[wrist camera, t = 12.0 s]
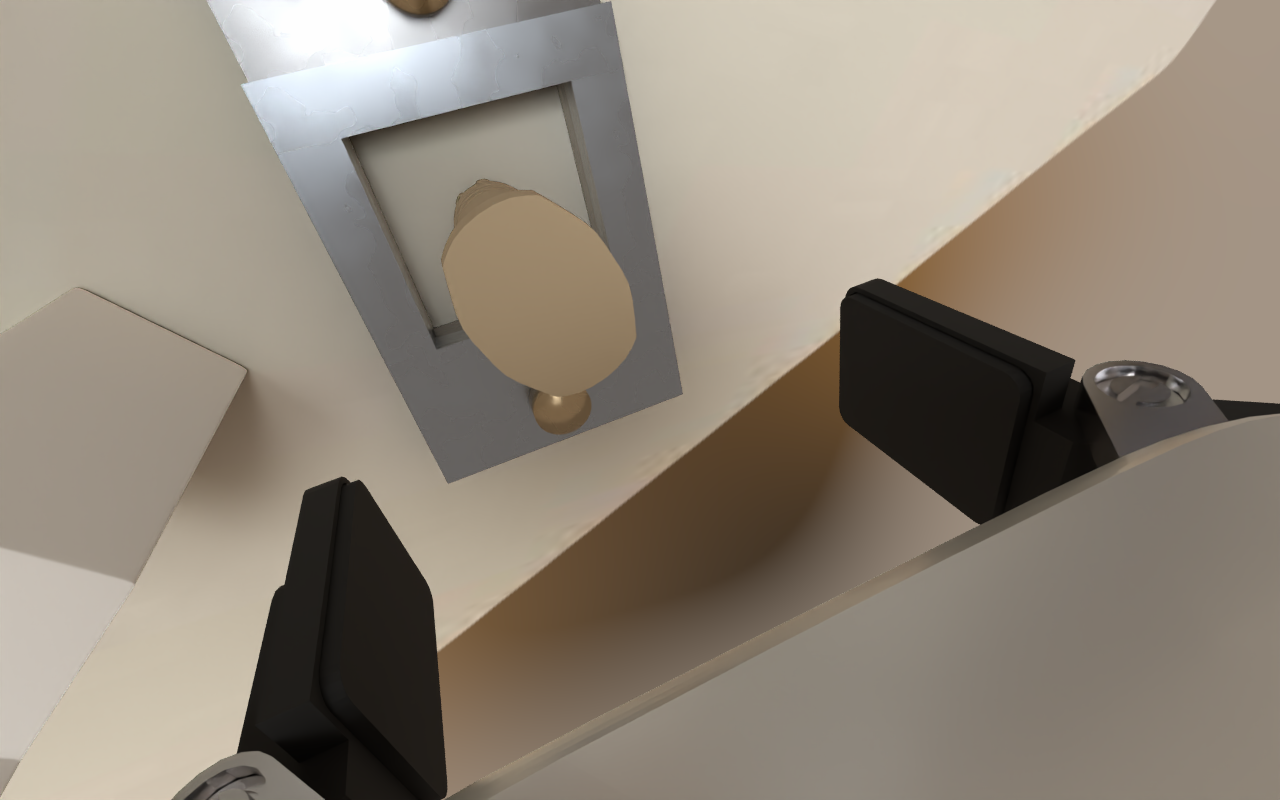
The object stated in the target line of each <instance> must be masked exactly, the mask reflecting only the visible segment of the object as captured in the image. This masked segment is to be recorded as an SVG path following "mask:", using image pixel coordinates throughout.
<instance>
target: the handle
mask: <svg viewBox="0 0 1280 800" xmlns="http://www.w3.org/2000/svg"><path fill="white" fill-rule="evenodd" d="M456 205H457V206H456V209H455V214H454V230H453V231H452V232H451V234H450V236H449V238H448V240H447V243H446V245H445V248H444V251H443V255H442V258H441V261H442V267H443V271H444V274H445V278H446V281H447V285H448V289H449V292H450V296H451V299H452V302H453V306H454V309H455V312H456V315H457V317H458V319H459V322H460V324H461V326H462V328H463V330H464V331H465V333H466V334H467V335H468V337H469V338H470V339H471V341H472V342H473V343H474V344H475V345H476V346H477V347H478V348H479V349H480V351H481V352H482V353H483V354H484V355H485V356H486V357H487V358H488V359H489V360H490V361H491V362H492V363H493V364H494V366H496V367H497V368H498V369H499V370H500V371H501V372H502V373H504V374H505V375H506V376H508V377H510V378H511V379H513V380H515V381H517V382H519V383H521V384H523V385H526V386H528V387H531V388H533V389H536V390H539V391H541V392H544V393H547V394H549V395H552V396H555V397H561V396H568V395H572V394H576V393H580V392H582V391H584V390H586V389H588V388H591V387H593V386H594V385H596V384H597V383H599V382H600V381H602V380H603V379H605V378H606V377H607V376H609V375H610V374H611V373H612V372H613V371H614V370H616V369H617V368H618V366H619V365H620V364H621V363H622V362H623V361H624V360H625V359H626V357H627V355H628V354H629V352H630V350H631V349H632V347H633V344H634V342H635V340H636V337H637V336H636V326H635V315H634V307H633V300H632V295H631V291H630V287H629V283H628V281H627V279H626V277H625V275H624V273H623V271H622V270H621V268H620V266H619V265H618V263H617V262H616V260H615V259H614V257H613V256H612V254H611V253H610V251H609V249H608V248H607V246H606V245H605V243H604V242H603V241H602V240H601V238H600V237H599V236H598V235H597V233H596V232H595V231H594V230H593V229H592V228H591V227H590V226H589V225H588V224H586V223H585V222H583V221H582V220H581V219H579V218H578V217H576V216H575V215H573V214H572V213H570V212H568V211H567V210H565V209H564V208H562V207H561V206H559V205H557V204H556V203H554V202H552V201H550V200H549V199H547V198H545V197H544V196H542V195H540V194H538V193H536V192H535V191H533V190H517V189H515V188H513V187H511V186H509V185H507V184H504V183H500V182H494V181H489V180H487V179H481V180H478V181H476V184H475V185H473V186H472V187H470V188H468V189H467V190H466V191H465V192H464V193H460V194H459V196H458V197H457V200H456Z"/></svg>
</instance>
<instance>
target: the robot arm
mask: <svg viewBox="0 0 1280 800" xmlns="http://www.w3.org/2000/svg"><path fill="white" fill-rule="evenodd" d="M1074 363H1075V360H1074V359H1072V358H1070V357H1067V356H1065V355H1062V354H1060V353H1058V352H1055V351H1053V350H1050V349H1048V348H1046V347H1043V346H1041V345H1038V344H1036V343H1033V342H1031V341H1029V340H1026V339H1024V338H1021V337H1019V336H1017V335H1014V334H1012V333H1010V332H1007V331H1005V330H1002V329H1000V328H998V327H995V326H993V325H990V324H988V323H986V322H983V321H981V320H978V319H976V318H974V317H971V316H969V315H966V314H964V313H961V312H959V311H956V310H954V309H952V308H950V307H947V306H945V305H942V304H940V303H937V302H935V301H933V300H930V299H928V298H926V297H923V296H921V295H918V294H916V293H914V292H911V291H909V290H906V289H904V288H902V287H899V286H897V285H894V284H892V283H890V282H887V281H885V280H882V279H874V280H871V281H868V282H865V283H863V284H860V285H857V286H855V287H852V288H850V289H849V290H848V291H847V294H846V297H845V298H844V299H843V300H842V302H841V307H840V387H839V389H840V391H839V393H840V394H839V408H840V413H841V416H842V418H843V420H844V421H845V422H846V423H847V424H848V425H849V426H850V427H852V428H853V429H854V430H855V431H857V432H858V433H859V434H861V435H862V436H863V437H865V438H866V439H867V440H869V441H870V442H871V443H872V444H874V445H875V446H876V447H878V448H879V449H880V450H882V451H883V452H884V453H886V454H887V455H888V456H889V457H891V458H892V459H893V460H895V461H896V462H897V463H899V464H900V465H901V466H903V467H904V468H905V469H906V470H908V471H909V472H910V473H912V474H913V475H914V476H915V477H917V478H918V479H920V480H921V481H922V482H923V483H925V484H926V485H927V486H929V487H930V488H931V489H932V490H934V491H935V492H936V493H938V494H939V495H940V496H942V497H943V498H944V499H946V500H947V501H948V502H949V503H951V504H952V505H953V506H955V507H956V508H957V509H959V510H960V511H961V512H962V513H964V514H965V515H966V516H968V517H969V518H970V519H972V520H973V521H975V522H976V523H978V524H980V525H979V526H978V527H976V528H973V529H971V530H969V531H967V532H965V533H963V534H961V535H959V536H957V537H955V538H953V539H951V540H949V541H947V542H945V543H943V544H941V545H939V546H937V547H935V548H933V549H931V550H929V551H927V552H925V553H923V554H921V555H919V556H917V557H915V558H913V559H911V560H909V561H907V562H905V563H903V564H901V565H899V566H897V567H895V568H893V569H891V570H889V571H887V572H885V573H883V574H881V575H879V576H877V577H875V578H873V579H871V580H869V581H867V582H865V583H863V584H861V585H859V586H857V587H855V588H853V589H851V590H849V591H847V592H845V593H843V594H841V595H839V596H837V597H835V598H833V599H831V600H829V601H827V602H825V603H823V604H821V605H819V606H817V607H815V608H813V609H811V610H809V611H807V612H805V613H803V614H801V615H799V616H797V617H795V618H793V619H791V620H789V621H787V622H785V623H783V624H781V625H779V626H777V627H775V628H773V629H771V630H769V631H767V632H765V633H763V634H761V635H759V636H757V637H755V638H753V639H751V640H749V641H747V642H745V643H743V644H741V645H739V646H737V647H735V648H733V649H731V650H729V651H728V652H726V653H724V654H722V655H720V656H718V657H716V658H714V659H712V660H710V661H708V662H706V663H704V664H702V665H700V666H698V667H696V668H694V669H692V670H690V671H688V672H686V673H684V674H682V675H680V676H678V677H676V678H674V679H672V680H671V681H668V682H666V683H664V684H663V685H661V686H659V687H657V688H655V689H653V690H651V691H649V692H647V693H645V694H643V695H641V696H639V697H637V698H635V699H633V700H631V701H629V702H627V703H625V704H623V705H621V706H619V707H617V708H615V709H613V710H611V711H609V712H607V713H605V714H604V715H602V716H600V717H598V718H596V719H594V720H592V721H590V722H588V723H586V724H584V725H582V726H580V727H578V728H576V729H575V730H573V731H571V732H569V733H567V734H565V735H563V736H561V737H560V738H558V739H556V740H554V741H552V742H550V743H548V744H546V745H544V746H542V747H541V748H539V749H537V750H535V751H533V752H531V753H529V754H527V755H525V756H524V757H522V758H520V759H518V760H516V761H514V762H512V763H510V764H508V765H506V766H505V767H503V768H501V769H499V770H497V771H495V772H493V773H491V774H489V775H487V776H486V777H484V778H482V779H480V780H478V781H476V782H474V783H473V784H471V785H469V786H467V787H466V788H464V789H462V790H461V791H459V792H457V793H456V794H454V795H452V796H450V797H449V798H447V799H445V800H1280V404H1275V403H1259V402H1243V401H1227V400H1212V399H1211V397H1210V396H1209V395H1208V393H1207V392H1206V391H1205V390H1204V388H1203V387H1202V386H1201V385H1200V384H1199V383H1197V382H1196V381H1195V380H1194V379H1193V378H1191V377H1190V376H1187V375H1186V374H1184V373H1182V372H1180V371H1178V370H1174V369H1171V368H1169V367H1166V366H1163V365H1158V364H1153V363H1147V362H1141V361H1127V360H1124V361H1109V362H1105V363H1100V364H1097V365H1094V366H1093V367H1091V368H1089V369H1087V370H1086V372H1085V373H1084V375H1083V376H1082V380H1081V383H1080V382H1077V381H1075V380H1073V379H1071V378H1070V377H1071V373H1072V370H1073V367H1074ZM446 794H447V775H446V761H445V748H444V736H443V723H442V710H441V697H440V685H439V672H438V660H437V646H436V633H435V620H434V607H433V599H432V595H431V591H430V588H429V586H428V584H427V582H426V580H425V579H424V577H423V576H422V574H421V572H420V571H419V569H418V568H417V566H416V565H415V563H414V562H413V560H412V558H411V557H410V555H409V554H408V552H407V551H406V549H405V547H404V546H403V544H402V543H401V541H400V540H399V538H398V536H397V535H396V533H395V532H394V530H393V529H392V527H391V525H390V524H389V522H388V521H387V519H386V518H385V516H384V514H383V513H382V511H381V510H380V508H379V507H378V505H377V503H376V502H375V500H374V499H373V497H372V496H371V494H370V492H369V491H368V489H367V488H366V486H365V485H364V484H363V482H361V481H360V480H357V481H354V482H351V483H350V482H349V480H347V479H346V478H345V477H340V478H337V479H334V480H332V481H329V482H326V483H323V484H321V485H318V486H315V487H313V488H310V489H308V490H306V491H305V493H304V495H303V499H302V504H301V509H300V514H299V518H298V523H297V528H296V533H295V537H294V542H293V547H292V552H291V556H290V561H289V566H288V571H287V575H286V580H285V585H283V586H281V587H279V588H278V589H277V590H276V591H275V594H274V596H273V599H272V602H271V606H270V611H269V615H268V619H267V624H266V628H265V633H264V637H263V641H262V646H261V650H260V654H259V659H258V663H257V668H256V672H255V676H254V681H253V685H252V689H251V694H250V698H249V702H248V707H247V711H246V716H245V720H244V724H243V729H242V733H241V737H240V742H239V746H238V751H237V754H235V755H232V756H230V757H227V758H225V759H222V760H220V761H218V762H217V763H215V764H214V765H212V766H211V767H209V768H207V769H206V770H204V771H203V772H201V773H199V774H198V775H197V776H196V777H195V778H194V779H193V780H191V781H190V782H189V783H188V784H187V785H186V786H185V787H184V788H182V789H181V790H180V791H179V792H178V793H177V794H176V795H175V796H174V798H173V799H172V800H441V799H443V798H445V797H446Z"/></svg>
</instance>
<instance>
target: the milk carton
mask: <svg viewBox="0 0 1280 800" xmlns="http://www.w3.org/2000/svg"><path fill="white" fill-rule="evenodd" d="M246 373H247V370H246V369H245V368H244V367H242V366H240V365H238V364H236V363H234V362H232V361H230V360H228V359H226V358H224V357H222V356H220V355H218V354H216V353H214V352H212V351H210V350H208V349H205V348H203V347H201V346H199V345H197V344H195V343H193V342H191V341H189V340H187V339H185V338H183V337H181V336H179V335H177V334H175V333H173V332H171V331H168V330H166V329H164V328H162V327H160V326H158V325H156V324H154V323H152V322H150V321H148V320H146V319H144V318H142V317H140V316H138V315H136V314H134V313H131V312H129V311H127V310H125V309H123V308H121V307H119V306H117V305H115V304H113V303H111V302H109V301H107V300H105V299H103V298H101V297H98V296H96V295H94V294H92V293H90V292H88V291H86V290H83V289H81V288H73V289H71V290H69V291H68V292H66V293H65V294H63V295H61V296H60V297H58V298H57V299H55V300H54V301H52V302H50V303H49V304H47V305H46V306H44V307H42V308H41V309H39V310H38V311H36V312H35V313H33V314H31V315H30V316H28V317H27V318H25V319H23V320H22V321H20V322H19V323H17V324H16V325H14V326H12V327H11V328H9V329H8V330H6V331H4V332H3V333H1V334H0V797H1V795H2V793H3V791H4V790H5V788H6V786H7V784H8V782H9V781H10V779H11V777H12V775H13V774H14V772H15V770H16V768H17V766H18V765H19V763H20V761H21V760H22V758H23V757H24V755H25V754H26V752H27V750H28V749H29V747H30V746H31V744H32V743H33V741H34V740H35V738H36V737H37V735H38V734H39V732H40V730H41V729H42V727H43V726H44V724H45V723H46V721H47V720H48V718H49V717H50V715H51V714H52V712H53V711H54V709H55V707H56V706H57V704H58V703H59V701H60V700H61V698H62V697H63V695H64V694H65V692H66V691H67V689H68V688H69V686H70V684H71V683H72V681H73V680H74V678H75V677H76V675H77V674H78V672H79V671H80V669H81V668H82V666H83V664H84V663H85V661H86V660H87V658H88V657H89V655H90V654H91V652H92V651H93V649H94V648H95V646H96V645H97V643H98V641H99V640H100V638H101V637H102V635H103V634H104V632H105V631H106V629H107V628H108V626H109V625H110V623H111V622H112V620H113V618H114V617H115V615H116V614H117V612H118V611H119V609H120V608H121V606H122V605H123V603H124V602H125V600H126V598H127V597H128V595H129V594H130V592H131V591H132V589H133V588H134V586H135V583H136V582H137V580H138V578H139V576H140V574H141V572H142V570H143V568H144V566H145V565H146V563H147V561H148V559H149V557H150V555H151V553H152V551H153V549H154V547H155V546H156V544H157V542H158V540H159V538H160V536H161V534H162V532H163V530H164V529H165V527H166V525H167V523H168V521H169V519H170V517H171V515H172V513H173V512H174V510H175V508H176V506H177V504H178V502H179V500H180V498H181V496H182V495H183V493H184V491H185V489H186V487H187V485H188V483H189V481H190V479H191V477H192V476H193V474H194V472H195V470H196V468H197V466H198V464H199V462H200V460H201V459H202V457H203V455H204V453H205V451H206V449H207V447H208V445H209V443H210V442H211V440H212V438H213V436H214V434H215V432H216V430H217V428H218V426H219V425H220V423H221V421H222V419H223V417H224V415H225V413H226V411H227V409H228V407H229V406H230V404H231V402H232V400H233V398H234V396H235V394H236V392H237V390H238V389H239V387H240V385H241V383H242V381H243V379H244V377H245V375H246Z"/></svg>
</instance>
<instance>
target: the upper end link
mask: <svg viewBox="0 0 1280 800" xmlns="http://www.w3.org/2000/svg"><path fill="white" fill-rule="evenodd" d="M561 83H564V87H565V91H566V95H567V99H568V103H569V108H570V112H571V116H572V120H573V125H574V129H575V133H576V137H577V141H578V146H579V150H580V154H581V158H582V163H583V167H584V171H585V175H586V179H587V184H588V188H589V192H590V196H591V200H592V205H593V209H594V213H595V217H596V222H597V226H598V230H599V234H600V238H601V240H602V241H603V242H604V243H605V245H606V246H607V248H608V249H609V251H610V253H611V254H612V256H613V257H614V259H615V260H616V262H617V263H618V265H619V266H620V268H621V270H622V271H623V273H624V275H625V277H626V279H627V281H628V283H629V287H630V291H631V295H632V300H633V307H634V315H635V326H636V336H637V337H636V340H635V342H634V344H633V347H632V349H631V350H630V352H629V354H628V355H627V357H626V359H625V360H624V361H623V362H622V363H621V364H620V365H619V366H618V368H617V369H616V370H614V371H613V372H612V373H611V374H610V375H609V376H607V377H606V378H605V379H603V380H602V381H600V382H599V383H597V384H596V385H594V386H593V387H591V388H588V389H586V390H584V391H582V392H580V393H576V394H572V395H568V396H561V397H555V396H552V395H549V394H547V393H544V392H541V391H539V390H536V389H533V388H531V387H528V386H526V385H523V384H521V383H519V382H517V381H515V380H513V379H511V378H510V377H508V376H506V375H505V374H504V373H502V372H501V371H500V370H499V369H498V368H497V367H496V366H494V364H493V363H492V362H491V361H490V360H489V359H488V358H487V357H486V356H485V355H484V354H483V353H482V352H481V351H480V349H479V348H478V347H477V346H476V345H475V344H474V343H473V342H472V341H471V339H470V338H469V337H468V335H467V334H466V333H465V331H464V330H460V331H457V332H454V333H451V334H448V335H445V336H442V337H439V338H435V337H434V335H433V333H432V330H431V328H430V326H429V324H428V322H427V319H426V317H425V315H424V313H423V310H422V308H421V306H420V304H419V302H418V299H417V297H416V295H415V293H414V290H413V288H412V286H411V284H410V282H409V279H408V277H407V275H406V273H405V270H404V268H403V266H402V264H401V261H400V259H399V257H398V255H397V253H396V250H395V248H394V246H393V244H392V241H391V239H390V237H389V235H388V233H387V230H386V228H385V226H384V224H383V221H382V219H381V217H380V215H379V213H378V210H377V208H376V206H375V204H374V201H373V199H372V197H371V195H370V192H369V190H368V188H367V186H366V184H365V181H364V179H363V177H362V175H361V172H360V170H359V168H358V166H357V164H356V161H355V159H354V157H353V155H352V152H351V150H350V148H349V146H348V144H347V141H346V139H345V137H349V136H353V135H357V134H361V133H365V132H369V131H373V130H377V129H381V128H385V127H389V126H393V125H397V124H401V123H405V122H409V121H413V120H417V119H421V118H425V117H429V116H433V115H437V114H441V113H445V112H449V111H453V110H457V109H461V108H465V107H469V106H473V105H477V104H481V103H485V102H489V101H493V100H497V99H501V98H505V97H509V96H513V95H517V94H521V93H525V92H529V91H533V90H537V89H541V88H545V87H549V86H553V85H557V84H561ZM241 86H242V88H243V90H244V92H245V94H246V96H247V98H248V100H249V102H250V103H251V105H252V107H253V109H254V111H255V113H256V115H257V117H258V119H259V121H260V123H261V125H262V127H263V128H264V130H265V132H266V134H267V136H268V138H269V140H270V142H271V144H272V146H273V148H274V150H275V152H276V153H277V155H278V157H279V159H280V161H281V163H282V165H283V167H284V169H285V171H286V173H287V175H288V177H289V178H290V180H291V182H292V184H293V186H294V188H295V190H296V192H297V194H298V196H299V198H300V200H301V202H302V204H303V205H304V207H305V209H306V211H307V213H308V215H309V217H310V219H311V221H312V223H313V225H314V227H315V229H316V230H317V232H318V234H319V236H320V238H321V240H322V242H323V244H324V246H325V248H326V250H327V252H328V254H329V255H330V257H331V259H332V261H333V263H334V265H335V267H336V269H337V271H338V273H339V275H340V277H341V279H342V281H343V282H344V284H345V286H346V288H347V290H348V292H349V294H350V296H351V298H352V300H353V302H354V304H355V306H356V307H357V309H358V311H359V313H360V315H361V317H362V319H363V321H364V323H365V325H366V327H367V329H368V331H369V332H370V334H371V336H372V338H373V340H374V342H375V344H376V346H377V348H378V350H379V352H380V354H381V356H382V358H383V359H384V361H385V363H386V365H387V367H388V369H389V371H390V373H391V375H392V377H393V379H394V381H395V383H396V384H397V386H398V388H399V390H400V392H401V394H402V396H403V398H404V400H405V402H406V404H407V406H408V408H409V409H410V411H411V413H412V415H413V417H414V419H415V421H416V423H417V425H418V427H419V429H420V431H421V433H422V434H423V436H424V438H425V440H426V442H427V444H428V446H429V448H430V450H431V452H432V454H433V456H434V458H435V460H436V461H437V463H438V465H439V467H440V469H441V471H442V473H443V475H444V477H445V479H446V481H447V483H448V484H449V483H451V482H454V481H456V480H459V479H462V478H464V477H467V476H470V475H472V474H475V473H477V472H480V471H483V470H485V469H488V468H491V467H493V466H496V465H498V464H501V463H504V462H506V461H509V460H511V459H514V458H517V457H519V456H522V455H525V454H527V453H530V452H532V451H535V450H538V449H540V448H543V447H546V446H548V445H551V444H553V443H556V442H559V441H561V440H564V439H566V438H569V437H572V436H574V435H577V434H580V433H582V432H585V431H587V430H590V429H593V428H595V427H598V426H601V425H603V424H606V423H608V422H611V421H614V420H616V419H619V418H621V417H624V416H627V415H629V414H632V413H635V412H637V411H640V410H642V409H645V408H648V407H650V406H653V405H656V404H658V403H661V402H663V401H666V400H669V399H671V398H674V397H676V396H679V395H682V394H683V393H682V387H681V382H680V376H679V371H678V365H677V360H676V354H675V349H674V344H673V338H672V333H671V327H670V322H669V316H668V311H667V305H666V300H665V294H664V289H663V283H662V278H661V272H660V267H659V261H658V256H657V250H656V245H655V239H654V234H653V228H652V223H651V218H650V212H649V207H648V201H647V196H646V190H645V185H644V179H643V174H642V168H641V163H640V157H639V152H638V146H637V141H636V135H635V130H634V124H633V119H632V113H631V108H630V103H629V97H628V92H627V86H626V81H625V75H624V70H623V64H622V59H621V53H620V48H619V42H618V37H617V31H616V26H615V20H614V15H613V9H612V4H611V1H610V2H605V3H601V4H597V5H592V6H588V7H583V8H579V9H574V10H570V11H565V12H561V13H556V14H552V15H548V16H543V17H539V18H534V19H530V20H525V21H521V22H516V23H512V24H507V25H503V26H498V27H494V28H490V29H485V30H481V31H476V32H472V33H467V34H463V35H458V36H454V37H449V38H445V39H441V40H436V41H432V42H427V43H423V44H418V45H414V46H409V47H405V48H400V49H396V50H391V51H387V52H383V53H378V54H374V55H369V56H365V57H360V58H356V59H351V60H347V61H342V62H338V63H333V64H329V65H325V66H320V67H316V68H311V69H307V70H302V71H298V72H293V73H289V74H284V75H280V76H276V77H271V78H267V79H262V80H258V81H253V82H249V83H244V84H241Z"/></svg>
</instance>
